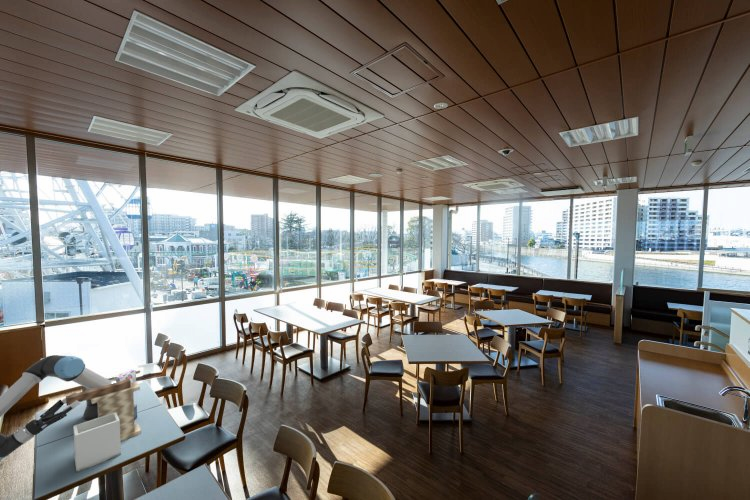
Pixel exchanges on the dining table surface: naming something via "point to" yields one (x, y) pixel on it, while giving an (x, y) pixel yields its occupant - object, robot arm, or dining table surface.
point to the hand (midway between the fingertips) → (77, 397)
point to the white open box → (96, 441)
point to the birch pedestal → (120, 409)
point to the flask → (135, 411)
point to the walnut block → (98, 391)
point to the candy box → (126, 376)
